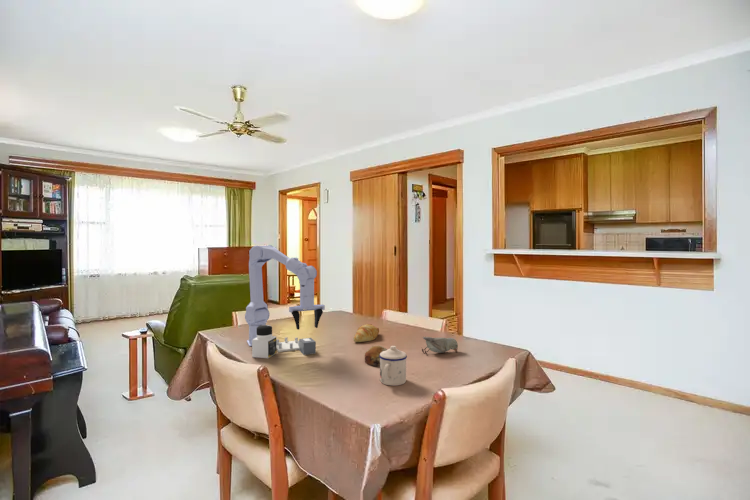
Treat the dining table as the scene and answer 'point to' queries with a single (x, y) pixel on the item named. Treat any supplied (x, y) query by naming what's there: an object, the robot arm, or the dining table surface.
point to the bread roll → (374, 355)
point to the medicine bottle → (264, 342)
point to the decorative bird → (440, 344)
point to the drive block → (307, 346)
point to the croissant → (366, 333)
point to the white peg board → (287, 345)
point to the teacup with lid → (393, 367)
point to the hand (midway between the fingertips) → (307, 328)
